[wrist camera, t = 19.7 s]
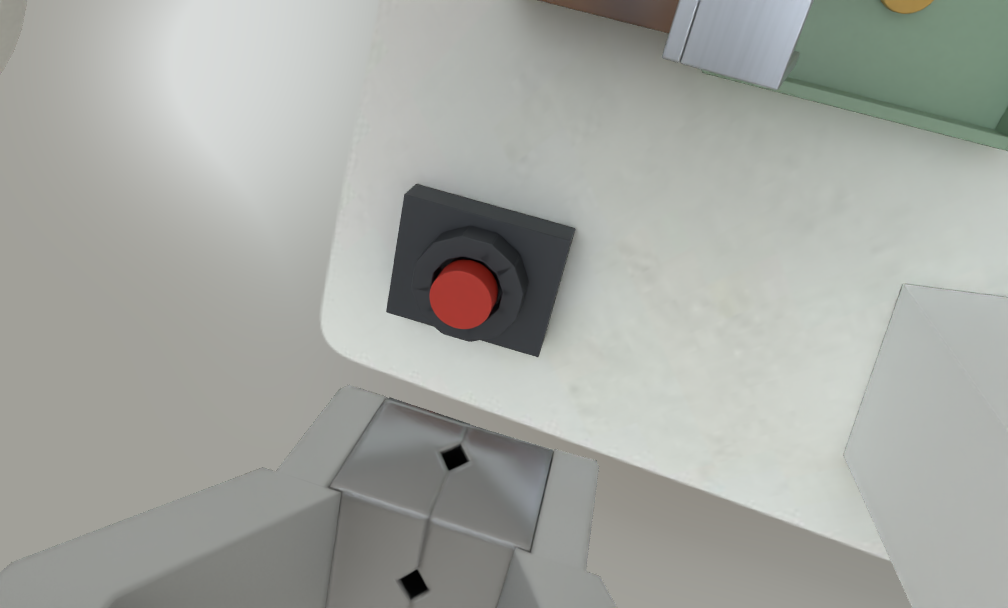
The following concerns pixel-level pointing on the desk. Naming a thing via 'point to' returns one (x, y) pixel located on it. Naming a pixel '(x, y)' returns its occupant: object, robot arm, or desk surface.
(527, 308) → the grey button base
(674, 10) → the stand
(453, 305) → the bell button
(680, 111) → the desk surface
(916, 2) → the tan wooden spoon shape
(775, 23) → the grey dustpan
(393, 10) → the desk surface
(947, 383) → the milk
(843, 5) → the tray
